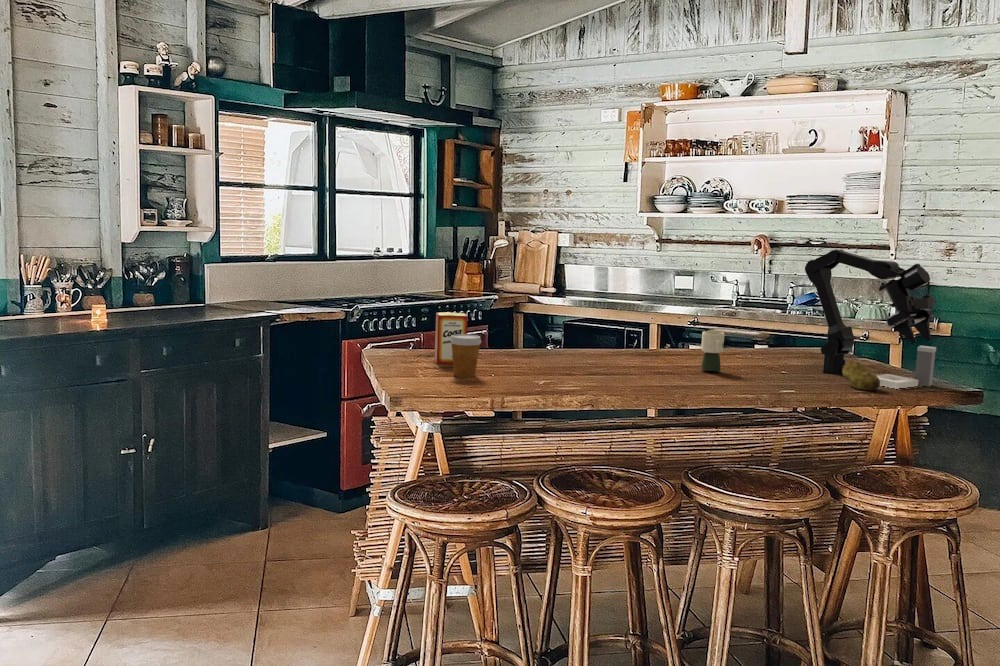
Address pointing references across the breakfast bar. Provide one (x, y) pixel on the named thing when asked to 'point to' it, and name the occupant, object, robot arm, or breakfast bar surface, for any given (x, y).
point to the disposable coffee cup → (465, 354)
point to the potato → (860, 376)
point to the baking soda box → (448, 334)
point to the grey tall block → (925, 365)
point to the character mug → (712, 350)
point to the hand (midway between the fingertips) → (922, 342)
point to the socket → (896, 381)
